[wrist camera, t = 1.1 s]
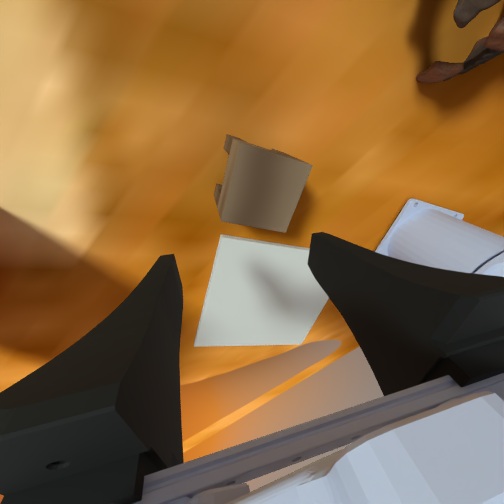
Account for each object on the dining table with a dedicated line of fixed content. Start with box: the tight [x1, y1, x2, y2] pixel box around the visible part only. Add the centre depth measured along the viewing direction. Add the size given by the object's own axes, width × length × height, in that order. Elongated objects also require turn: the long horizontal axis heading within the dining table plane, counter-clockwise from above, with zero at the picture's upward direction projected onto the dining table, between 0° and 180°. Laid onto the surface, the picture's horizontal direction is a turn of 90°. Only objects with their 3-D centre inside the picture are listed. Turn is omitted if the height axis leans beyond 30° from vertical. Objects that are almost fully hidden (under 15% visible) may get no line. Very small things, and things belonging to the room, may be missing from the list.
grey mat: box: [194, 234, 329, 347], centre depth 27 cm, size 16×16×1 cm
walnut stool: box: [214, 135, 313, 233], centre depth 16 cm, size 5×5×6 cm
